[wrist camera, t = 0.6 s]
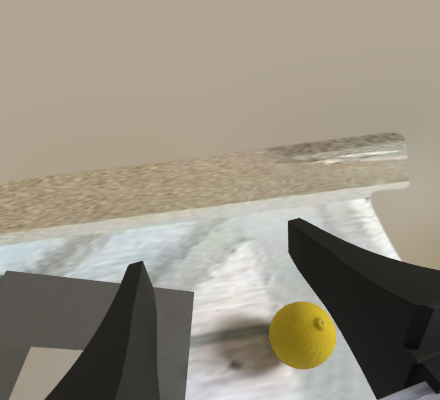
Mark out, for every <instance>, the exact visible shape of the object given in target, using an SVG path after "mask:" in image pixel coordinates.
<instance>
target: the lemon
mask: <svg viewBox="0 0 440 400" xmlns="http://www.w3.org/2000/svg"><path fill="white" fill-rule="evenodd" d="M269 338H270V344H271V346H272V349H273V351H274V352H275V354H276V356H277V357H278V358H279V359H280V360H281V361H282V362H284V363H285V364H287V365H288V366H291V367H293V368H296V369H310V368H314V367H317V366H319V365H320V364H322V363H323V362H324V361H326V360H327V359H328V358H329V356H330V355H331V353H332V352H333V350H334V347H335V344H336V331H335V327H334V324H333V321H332V320H331V318H330V316H329V315H328V314H327V313H326V312H325V311H324V310H323V309H322V308H320V307H319V306H317V305H315V304H313V303H309V302H295V303H292V304H289V305H286V306H284V307H283V308H282V309H280V310H279V311H278V312H277V313H276V315H275V316H274V318H273V319H272V322H271V325H270V329H269Z"/></svg>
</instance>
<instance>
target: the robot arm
mask: <svg viewBox="0 0 440 400" xmlns="http://www.w3.org/2000/svg"><path fill="white" fill-rule="evenodd" d="M288 251H289V254H290V256H291V258H292V260H293V262H294V263H295V265H296V267H297V269H298V270H299V272H300V273H301V274H302V276H303V277H304V278H305V280H306V281H307V283H308V284H309V285H310V287H311V288H312V289H313V291H314V292H315V293H316V295H317V296H318V297H319V299H320V300H321V301H322V303H323V304H324V305H325V307H326V308H327V310H328V311H329V313H330V314H331V316H332V318H333V319H334V321H335V323H336V324H337V326H338V328H339V329H340V331H341V333H342V335H343V336H344V338H345V340H346V342H347V344H348V345H349V347H350V349H351V351H352V352H353V354H354V356H355V358H356V360H357V362H358V364H359V366H360V367H361V369H362V371H363V373H364V375H365V377H366V379H367V381H368V383H369V385H370V387H371V389H372V391H373V393H374V395H375V397H376V399H377V400H440V270H435V269H430V268H425V267H420V266H416V265H413V264H408V263H405V262H401V261H398V260H394V259H391V258H388V257H385V256H382V255H379V254H376V253H373V252H370V251H368V250H365V249H363V248H360V247H358V246H355V245H353V244H351V243H348V242H346V241H344V240H342V239H340V238H338V237H336V236H334V235H332V234H330V233H328V232H326V231H324V230H322V229H320V228H318V227H316V226H314V225H312V224H310V223H309V222H307V221H305V220H303V219H301V218H297V219H294V220H290V221H288ZM44 400H160V392H159V382H158V372H157V309H156V300H155V293H154V289H153V287H152V284H151V281H150V279H149V276H148V273H147V271H146V268H145V266H144V263H143V261H140V262H137V263H133V264H129V266H128V267H127V270H126V272H125V275H124V277H123V280H122V282H121V284H120V287H119V289H118V291H117V293H116V295H115V297H114V299H113V302H112V304H111V306H110V307H109V309H108V311H107V313H106V315H105V317H104V318H103V320H102V322H101V324H100V326H99V327H98V329H97V331H96V332H95V334H94V335H93V337H92V338H91V340H90V342H89V343H88V345H87V346H86V347H85V349H84V350H83V352H82V353H81V355H80V356H79V357H78V359H77V360H76V362H75V363H74V364H73V366H72V367H71V368H70V369H69V371H68V372H67V373H66V374H65V376H64V377H63V378H62V379H61V380H60V382H59V383H58V384H57V385H56V387H55V388H54V389H53V390H52V391H51V392H50V394H49V395H48V396H47V397H46V398H45V399H44Z"/></svg>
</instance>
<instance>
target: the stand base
mask: <svg viewBox="0 0 440 400" xmlns="http://www.w3.org/2000/svg"><path fill="white" fill-rule="evenodd" d="M119 287H120V283H111V282H102V281H93V280H84V279H75V278H67V277H58V276H49V275H40V274H31V273H23V272H14V271H6V272H5V274H4V276H3V278H2V280H1V281H0V400H9V398H10V396H11V393H12V391H13V389H14V386H15V384H16V381H17V379H18V376H19V374H20V372H21V369H22V367H23V364H24V362H25V360H26V357H27V355H28V352H29V350H30V348H31V347H43V348H56V349H70V350H84V349H85V347H86V346H87V345H88V343H89V342H90V340H91V338H92V337H93V335H94V334H95V332H96V331H97V329H98V327H99V326H100V324H101V322H102V320H103V318H104V317H105V315H106V313H107V311H108V309H109V307H110V306H111V304H112V302H113V299H114V297H115V295H116V293H117V291H118V289H119ZM153 289H154V293H155V300H156V309H157V372H158V382H159V392H160V400H185V392H186V381H187V369H188V358H189V346H190V334H191V323H192V311H193V299H194V292H190V291H181V290H172V289H164V288H155V287H153Z"/></svg>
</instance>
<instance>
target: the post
mask: <svg viewBox="0 0 440 400" xmlns="http://www.w3.org/2000/svg"><path fill="white" fill-rule="evenodd" d="M82 352H83V350H70V349H56V348H43V347H31V348H30V350H29V352H28V355H27V357H26V360H25V362H24V364H23V367H22V369H21V372H20V374H19V376H18V379H17V381H16V384H15V386H14V389H13V391H12V393H11V396H10V398H9V400H44V399H45V398H46V397H47V396H48V395H49V394H50V392H51V391H52V390H53V389H54V388H55V387H56V385H57V384H58V383H59V382H60V380H61V379H62V378H63V377H64V376H65V374H66V373H67V372H68V371H69V369H70V368H71V367H72V366H73V364H74V363H75V362H76V360H77V359H78V357H79V356H80V355H81V353H82Z"/></svg>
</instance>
